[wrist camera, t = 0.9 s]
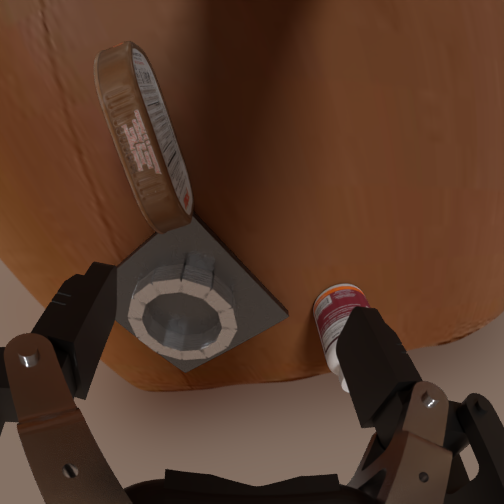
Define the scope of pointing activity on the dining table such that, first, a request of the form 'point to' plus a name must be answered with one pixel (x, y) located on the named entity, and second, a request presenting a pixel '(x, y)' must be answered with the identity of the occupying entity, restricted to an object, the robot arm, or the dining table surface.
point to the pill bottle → (336, 320)
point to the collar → (191, 296)
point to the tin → (144, 136)
